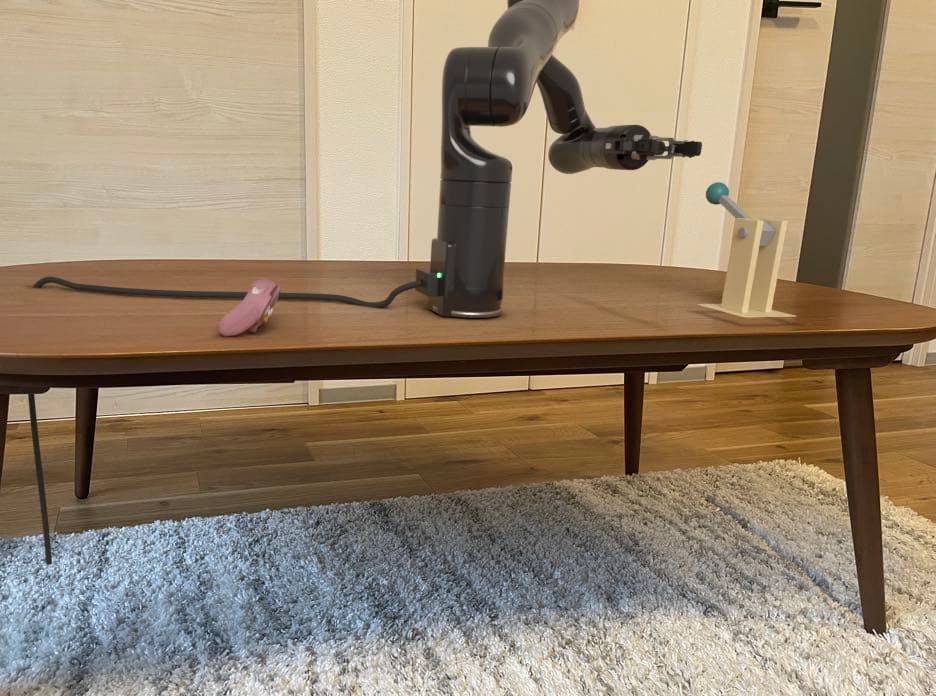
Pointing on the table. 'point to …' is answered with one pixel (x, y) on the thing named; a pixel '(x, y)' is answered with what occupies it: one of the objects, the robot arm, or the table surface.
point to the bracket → (752, 270)
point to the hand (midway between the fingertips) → (677, 147)
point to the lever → (735, 208)
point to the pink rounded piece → (251, 309)
